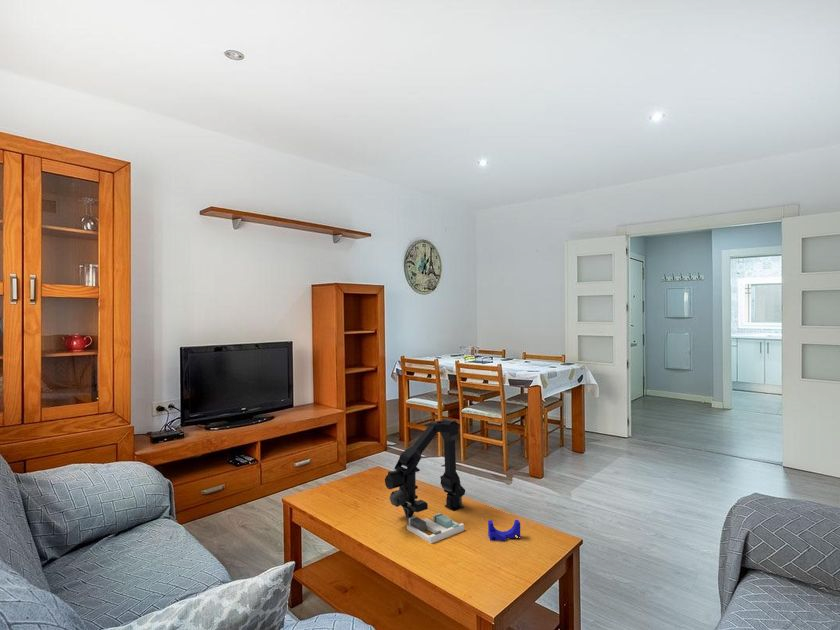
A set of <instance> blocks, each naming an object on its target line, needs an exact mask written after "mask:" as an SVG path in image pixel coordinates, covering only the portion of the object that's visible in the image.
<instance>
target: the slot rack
mask: <svg viewBox="0 0 840 630" xmlns="http://www.w3.org/2000/svg"><path fill="white" fill-rule="evenodd" d="M422 520H423V521H425V522H426V531H427V530H428V531H429V532H431V534H430V535H429V534H427V533H425V532H422V531H420V530H418V529H416V528H415V527H413V526H411V525H406V529H407V530H408V531H409V532H411V533H413V534H414V535H416V536H418V537H419V538H421V539H423V540H424V541H426V542H428V543H430V544H434V543H436V542H439V541H441V540H443V539H446V538H449V537H452V536H454V535H456V534H459V533H461V532H464V531H465V524H464V523H463V522H461V523H458V522H456V521H454V520H452V527H450V528H448V529H446V528H444V527H443V526H441V525H439V524H437V523H435V522H433V520H432V519H429V518H428V517H426V518H423V519H422Z"/></svg>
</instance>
